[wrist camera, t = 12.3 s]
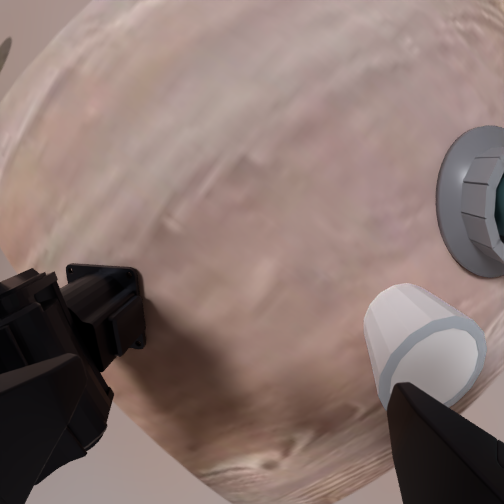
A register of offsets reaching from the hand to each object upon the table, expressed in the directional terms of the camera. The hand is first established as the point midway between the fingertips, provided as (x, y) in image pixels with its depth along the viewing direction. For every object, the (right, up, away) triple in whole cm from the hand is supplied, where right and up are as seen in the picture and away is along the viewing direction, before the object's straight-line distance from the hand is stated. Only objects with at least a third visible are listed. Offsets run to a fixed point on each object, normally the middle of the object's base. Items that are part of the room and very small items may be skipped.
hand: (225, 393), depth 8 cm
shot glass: (+11, -1, +13) cm, 17 cm away
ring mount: (+18, +7, +10) cm, 22 cm away
